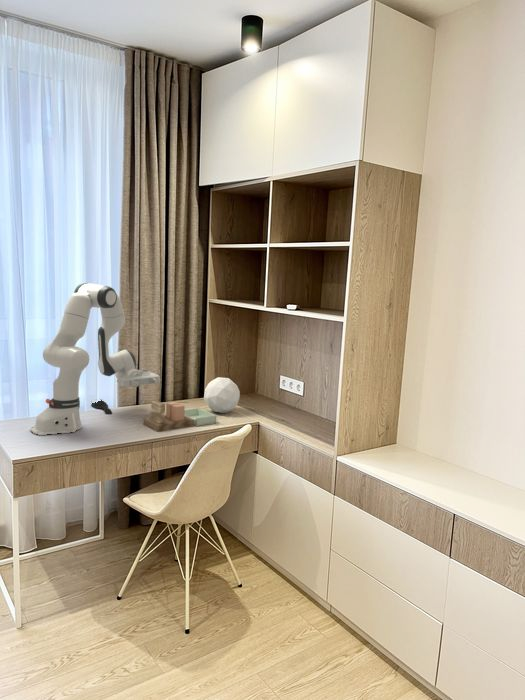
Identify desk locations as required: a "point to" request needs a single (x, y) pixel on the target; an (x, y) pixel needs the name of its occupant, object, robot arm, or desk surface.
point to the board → (168, 424)
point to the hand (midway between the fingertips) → (146, 383)
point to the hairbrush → (101, 406)
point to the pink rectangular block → (169, 408)
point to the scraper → (157, 411)
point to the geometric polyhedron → (221, 395)
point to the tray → (200, 416)
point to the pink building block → (177, 412)
